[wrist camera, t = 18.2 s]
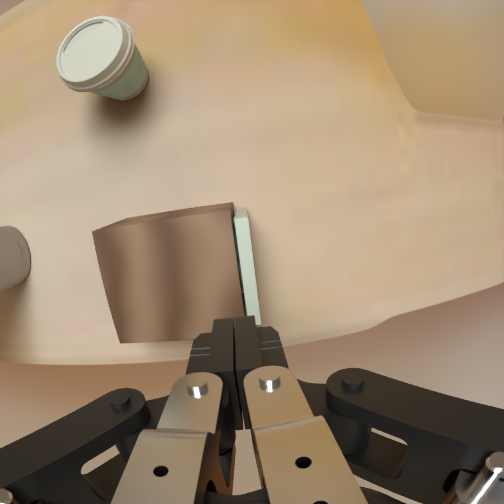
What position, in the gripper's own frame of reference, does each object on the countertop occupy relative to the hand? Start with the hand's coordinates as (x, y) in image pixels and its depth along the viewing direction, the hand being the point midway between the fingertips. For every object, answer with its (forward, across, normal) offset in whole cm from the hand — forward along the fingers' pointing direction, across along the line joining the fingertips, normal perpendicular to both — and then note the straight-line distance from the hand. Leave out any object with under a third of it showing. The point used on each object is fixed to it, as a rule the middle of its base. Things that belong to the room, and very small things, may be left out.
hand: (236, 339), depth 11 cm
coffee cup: (+27, +12, -21) cm, 37 cm away
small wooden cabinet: (+27, +6, +3) cm, 28 cm away
